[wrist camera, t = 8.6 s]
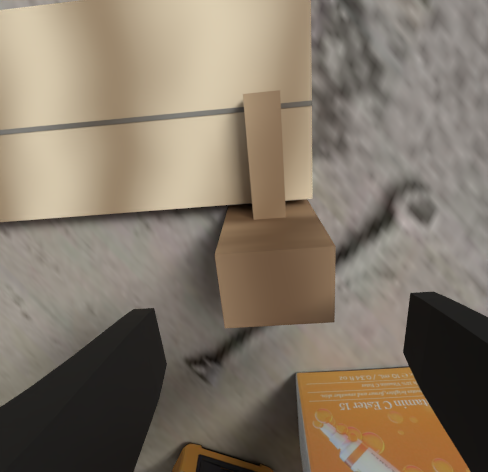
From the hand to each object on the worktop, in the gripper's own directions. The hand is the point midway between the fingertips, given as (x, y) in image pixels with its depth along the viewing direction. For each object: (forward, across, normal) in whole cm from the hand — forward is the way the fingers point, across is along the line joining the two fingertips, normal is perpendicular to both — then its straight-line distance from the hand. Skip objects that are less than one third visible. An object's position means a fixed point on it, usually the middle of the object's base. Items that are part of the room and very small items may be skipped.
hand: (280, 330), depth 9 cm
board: (+8, +7, -6) cm, 12 cm away
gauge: (+8, 0, -3) cm, 8 cm away
